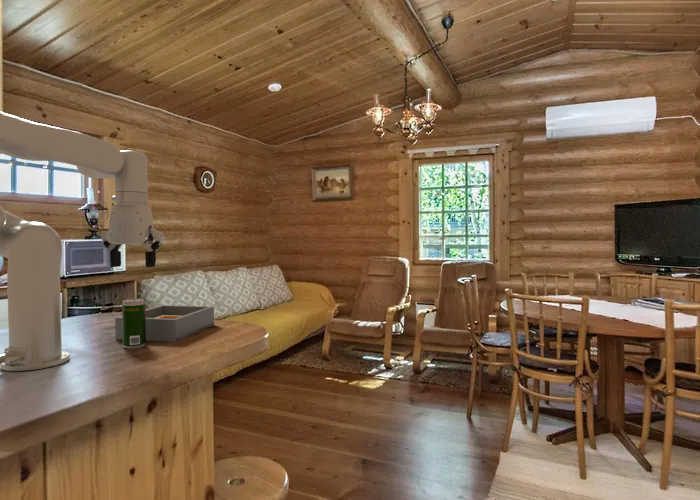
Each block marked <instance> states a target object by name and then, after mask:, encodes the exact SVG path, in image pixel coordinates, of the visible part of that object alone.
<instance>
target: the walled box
mask: <svg viewBox="0 0 700 500" xmlns="http://www.w3.org/2000/svg"><path fill="white" fill-rule="evenodd" d="M145 318H146V342H165V343H166V342H170V343H172V342H173V343H177V342H179V341H181V340H183V339H186V338H189V337H191V336H193V335H195V334H199V333H200V332H202V331H205V330H206V329H208V328H211V327H214V326H215V306H208V305H206V306H205V305H204V306H203V305H172V304H171V305H170V304H168V305H166V304H165V305H164V304H160V305H157V306H153V307H149V308H147V309H146V308H145ZM114 322H115V323H114V325H115V328H114V329H115V331H114V332H115V340H117V341H118V340H122V341H123V332H122V315H120V316H116V317H115V318H114ZM213 325H214V326H213Z"/></svg>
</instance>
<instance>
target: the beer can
mask: <svg viewBox="0 0 700 500" xmlns="http://www.w3.org/2000/svg"><path fill="white" fill-rule="evenodd" d="M121 309H122V310H121V316H122V332H123V340H122V347H123V348H124V349H126V350H127V349H128V350H129V349H130V350H133V349H141V348H143V347H146V343H147V341H146V318H145V310H146V303H145V299H144V298H130V299H124V300H122V303H121Z"/></svg>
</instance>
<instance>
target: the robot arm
mask: <svg viewBox="0 0 700 500" xmlns="http://www.w3.org/2000/svg"><path fill="white" fill-rule="evenodd" d="M0 154H2V155H5V156H8V157H13V158H15V159H19V160H25V161H32V162H34V161H35V162H55V163H61V164H62V163H63V164H67V165H72V166H75V167H76V169H77V170H78V171H79V172H80V174H82V175H83V176H85V177H87V178H91V179H97V180H98V179H99V180H101V179H114V195H112V196H111V201H112V202H114V205H113V204H112V206H111V209H110V212H109V213H110V214H109V220H108V229H107V230H106V231H104V232H102V233H101V234H100V236H99V237H100V239H101V240H102V243H103V246H104V247H106V248H107V249H106V250H107V251H108V252H109V262H110V268H117V267H121V266H122V253H121V250H120V249H121V247H122V246H123V245H141V244H142V245H143V247H144V248H145V250H147V251H145V252H144V253H145V254H144V255H145V256H144V257H145V267H146V268H155V267H156V263H157V255H156V254H157V251H158V250H159V248H160V247H161V246H162V245H163V242H164V239H165V238H166V235H165V233H163V232H161V231H160V230H158V229H156V228H155V226H154V218H153V213H152V208H151V205H149V193H148V191H149V190H148V188H149V187H148V186H149V185H148V184H149V183H148V157H147V155H146V154H145V153H143V152H141V151H137V150H129V149H127V150H123V149H122V150H120V149H119V147H117V146H116V145H114V144H112V143H110V142H109V141H106V140H103V139H99V138H97V137H94V136H91V135H88V134H84V133H82V132H79V131H74V130H70V129H66V128H61V127H57V126H51V125H48V124H44V123H38V122H34V121H31V120H27V119H24V118H20V117H19V116H15V115H12V114H8V113H5V112H3V111H0ZM155 237H156V239H155ZM0 256H1V257H4V258H5V259H7V274H6V279H7V280H6V281H7V282H6V288H7V292H6V293H7V316H8V321H7V322H8V347H4V352H3V353H1V354H0V369H1V370H3V371H6V372H7V371H8V372H23V371H25V372H26V371H34V370H40V369H45V368H50V367H55V366H58V365H61V364H64V363H66V362H67V361H69V360H70V357H71V353H70V352H67V351H64V350H63V349H62V348H63V347H62V308H61V307H62V306H61V305H62V302H61V301H62V299H61V297H62V296H61V265H62V257H63V244H62V239H61V237H60V235H59V233H58V232H57V230H56V229H55V228H53V227H52V226H51V225H48V224H46V223H44V222H41V221H40V222H39V221H28V220H25V219H23V218H21V217H19V216H17V215H15V214H13V213H10V212H9V211H7V210H5V209H4V208H3V206H1V205H0Z"/></svg>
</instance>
